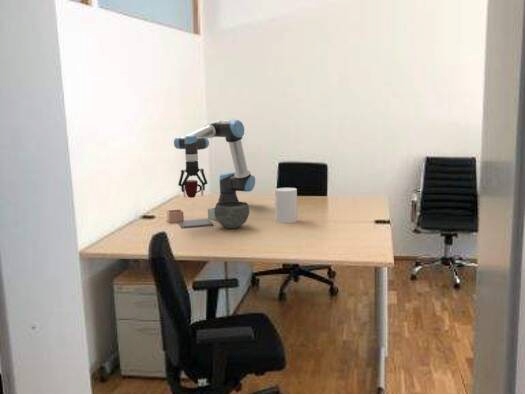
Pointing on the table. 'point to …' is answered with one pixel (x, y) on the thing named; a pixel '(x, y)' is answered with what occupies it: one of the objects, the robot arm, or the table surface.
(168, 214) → the tan open box
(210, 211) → the sage open box
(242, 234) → the table surface
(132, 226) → the table surface
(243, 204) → the bowl
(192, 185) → the mug
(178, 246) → the table surface
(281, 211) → the canister
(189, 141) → the robot arm
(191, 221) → the slate board
